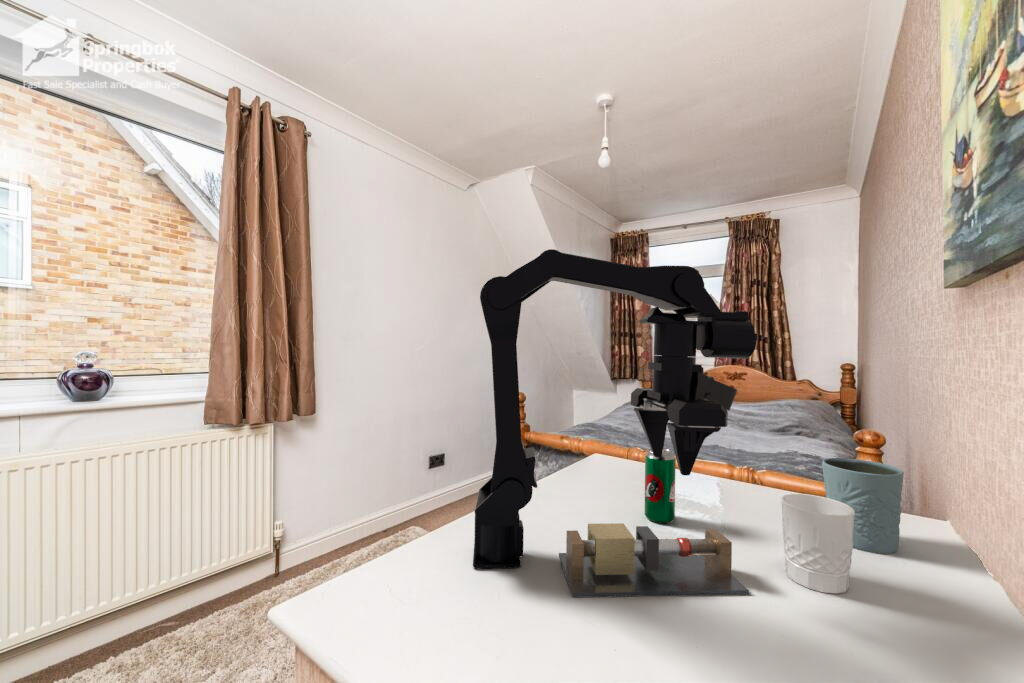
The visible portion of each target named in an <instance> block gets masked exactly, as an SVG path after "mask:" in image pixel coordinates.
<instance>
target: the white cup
mask: <svg viewBox="0 0 1024 683" xmlns="http://www.w3.org/2000/svg"><path fill="white" fill-rule="evenodd" d="M781 516H782V518H781V519H782V520H781V521H782V539H783V552H784V554H785V555H784V561H785V564H784V565H785V572H786V574H787V576H788V577H789V578H790V579H791V581H793V582H795V583H796V584H798V585H800V586H802V587H804V588H807V589H810V590H813V591H816V592H820V593H825V594H826V593H827V594H832V595H833V594H834V595H835V594H836V595H837V594H838V595H839V594H841V593H842V594H843V593H846V592H847V590H848V589H849V585H850V572H851V571H850V570H851V566H852V556H853V549H854V548H853V533H854V518H855V511H854V509H853V508H852V507H850V506H848V505H846V504H844V503H842V502H839V501H836V500H833V499H829V498H826V496H821V495H814V494H807V493H806V494H805V493H788V494H784V495H782V496H781Z"/></svg>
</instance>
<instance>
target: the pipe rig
mask: <svg viewBox="0 0 1024 683" xmlns="http://www.w3.org/2000/svg"><path fill="white" fill-rule="evenodd" d="M658 539H659V538H658ZM565 542H566V543H565V544H566V547H565V548H566V549H565V550H566V551H565V552H558V557H559V560H560V564H561V566H562V570H563V572H564V573H563V574H564V576H565V578H566V579H565V580H566V582H567V584H568V588H569V590H570V595H571V597H572V598H598V597H599V598H600V597H601V598H605V597H607V598H609V597H612V598H613V597H649V596H650V597H660V596H661V597H663V596H664V597H665V596H713V595H715V596H717V595H719V596H720V595H721V596H722V595H723V596H724V595H726V596H727V595H749V593H750V590H749V588H748V587H746V585H744V583H742V582H741V581H740V580H739V579H738V577H736V576H735V575H734V574H733V573H732V557H733V554H732V551H733V550H732V548H733V546H732V545H733V543H732V541H731V540H729V539H728V538H727V537H726V536H725V535H723V534H722V533H721V532H719V531H718V530H717V529H715V528H714V529H713V528H711V529H710V528H709V529H707V528H705V530H704V538H688V537H676V538H670V539H669V538H668V539H667V538H665V539H664V538H661V539H659V570H651V571H646V569H645V568H644V566H643V565H642V564H641V562H640V561H639V559H638V558H637V556H645V541H644V539H640V540H636V539H635V549H634V574H623V575H595V572H594V570H593V568H592V566H591V564H590V562H589V559H588V557H595V541H594V540H588V539H582V536H581V535H580V533H579V531H578V530H566V541H565Z"/></svg>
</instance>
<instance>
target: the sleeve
mask: <svg viewBox="0 0 1024 683" xmlns="http://www.w3.org/2000/svg"><path fill="white" fill-rule="evenodd" d="M587 540H594V541H595V557H588V559H589V562H590V564H591V566H592V568H593V570H594V572H595V575H623V574H634V549H635V540H636V537H635V536H634V535H633V534H632V533H631V531H630V530H629V529H628V528H627V526H626V525H625V524H624V523H620V522H619V523H617V522H616V523H587Z"/></svg>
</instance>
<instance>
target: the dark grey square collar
mask: <svg viewBox="0 0 1024 683" xmlns="http://www.w3.org/2000/svg"><path fill="white" fill-rule="evenodd" d="M640 539H644V541H645V556H637V558H638V559H639V561H640V562H641V564H642V565H643V566H644V568H645V569H646V571H651V570H659V538H658V536H656V534H655V533H654V532H653V530H651V528H650V527H649V526H646V525H645V526H644V525H643V526H637V525H636V526H635V540H640Z"/></svg>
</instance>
